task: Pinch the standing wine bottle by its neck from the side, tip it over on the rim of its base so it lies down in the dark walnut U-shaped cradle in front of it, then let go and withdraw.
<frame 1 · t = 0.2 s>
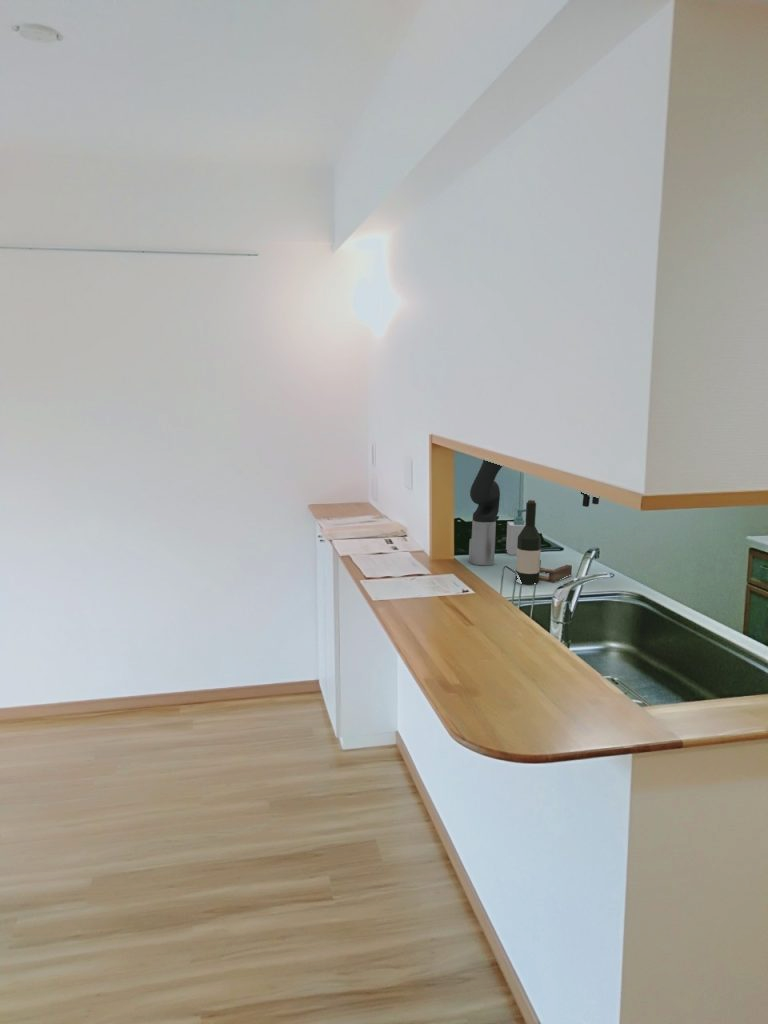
hand: (590, 505, 283), 29 cm above the countertop, tool pointing down, fingers open, 8 cm apart
soap bottle: (517, 553, 334), on the countertop
cradle: (545, 575, 297), on the countertop
wine bottle: (527, 582, 287), on the countertop
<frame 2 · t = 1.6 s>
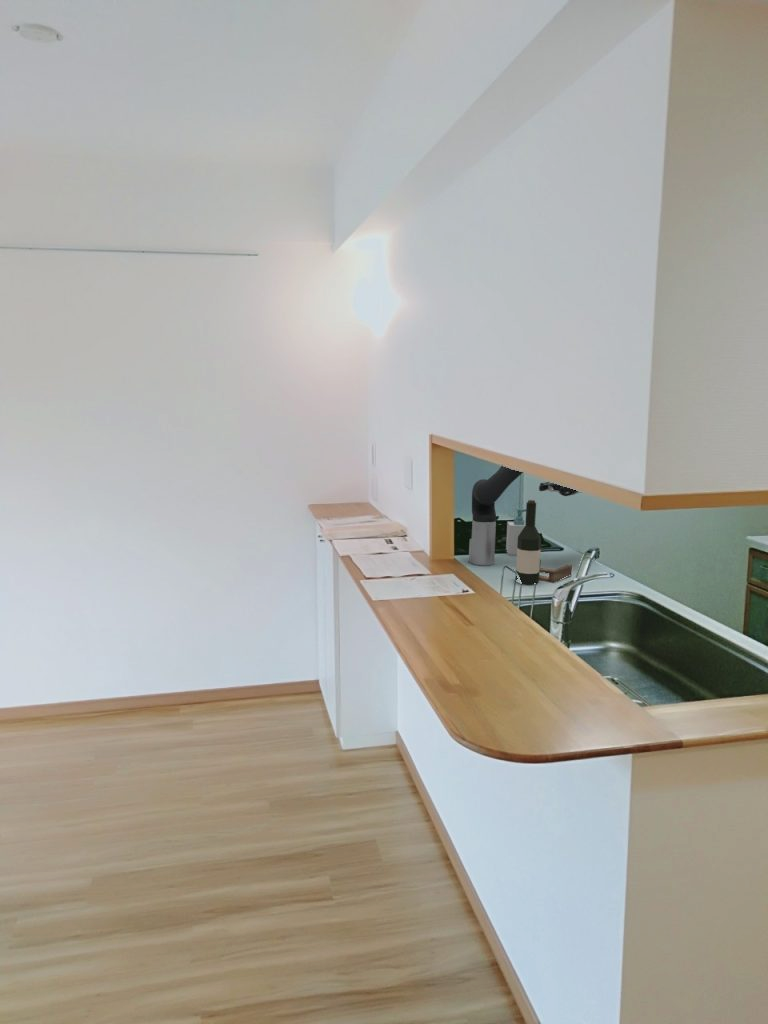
hand: (550, 489, 296), 32 cm above the countertop, tool horizontal, fingers open, 8 cm apart
nothing on the countertop moved.
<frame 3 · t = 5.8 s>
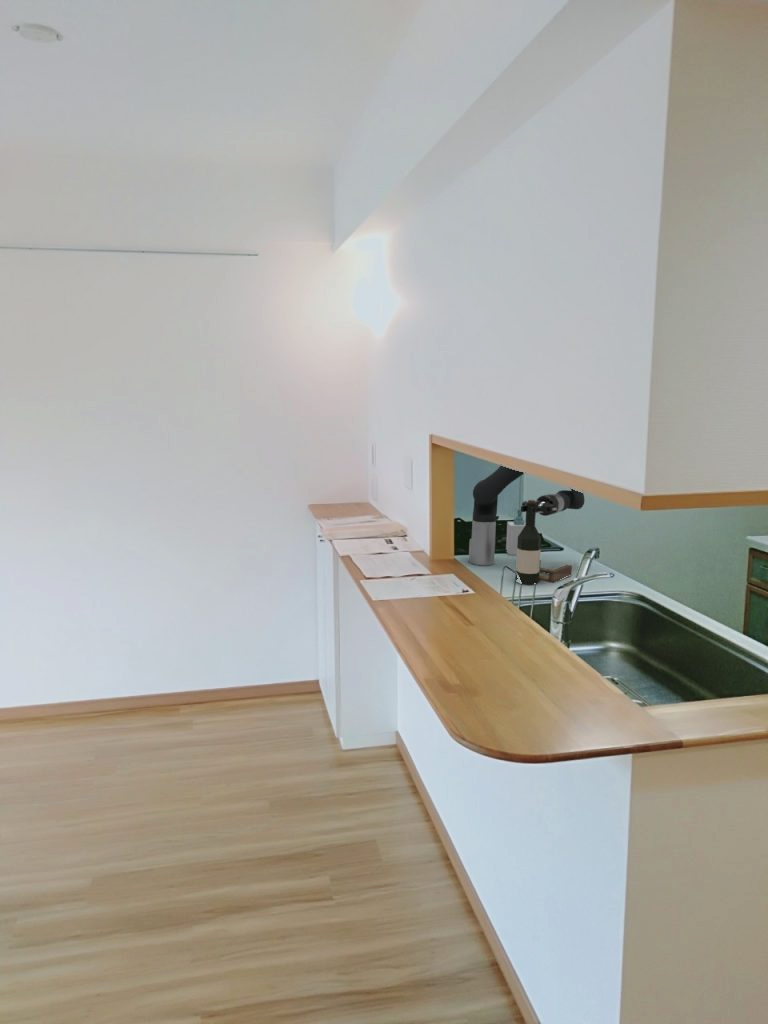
hand: (527, 509, 280), 27 cm above the countertop, tool horizontal, fingers closed on wine bottle, 3 cm apart
wine bottle: (527, 582, 287), on the countertop, touching gripper
everything else where it was.
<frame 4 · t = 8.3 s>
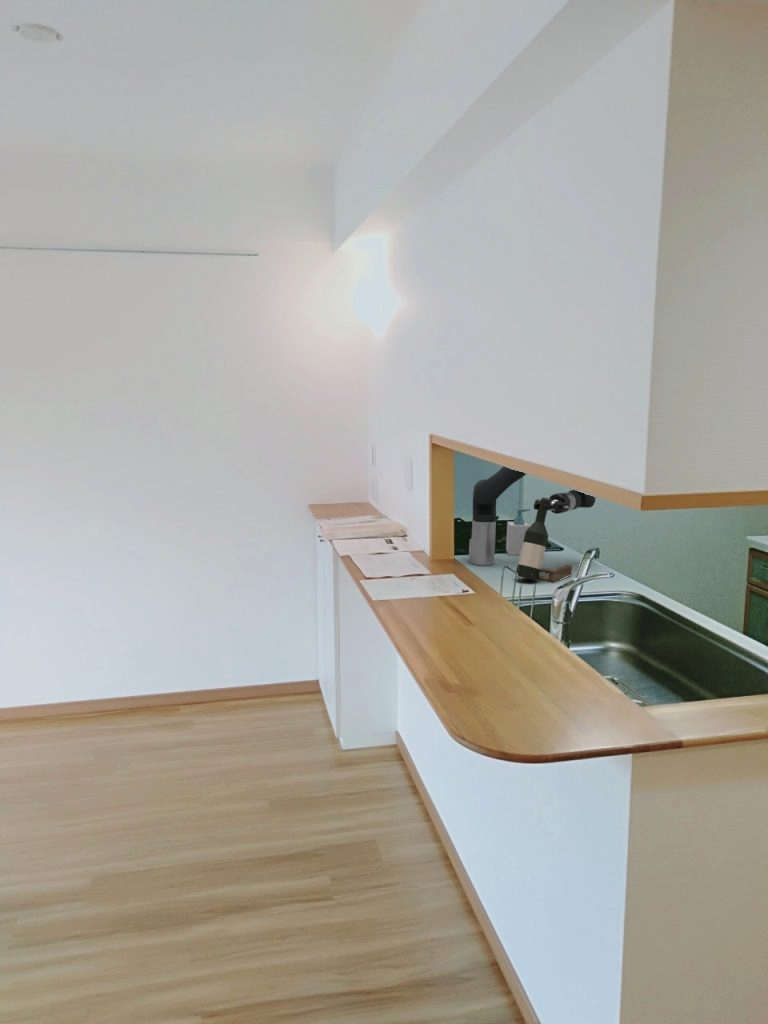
hand: (539, 507, 287), 27 cm above the countertop, tool horizontal, fingers closed on wine bottle, 3 cm apart
wine bottle: (526, 578, 288), point 1 cm above the countertop, touching gripper
everything else where it was.
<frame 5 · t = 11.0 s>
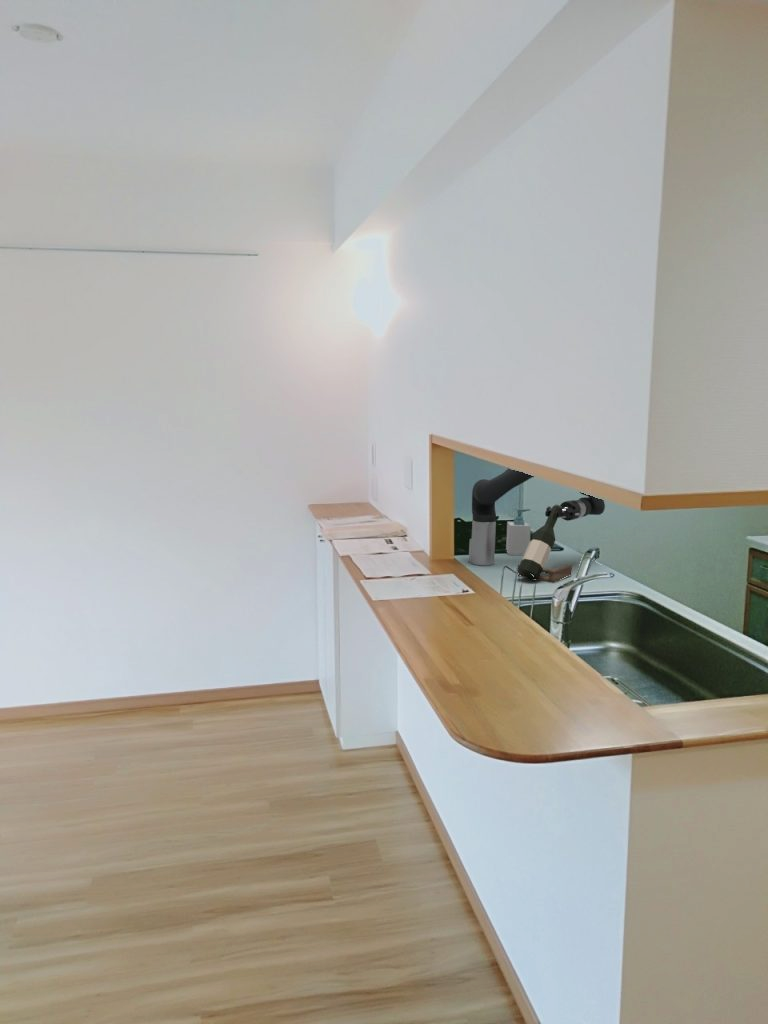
hand: (551, 514, 295), 23 cm above the countertop, tool horizontal, fingers closed on wine bottle, 3 cm apart
wine bottle: (527, 574, 288), point 2 cm above the countertop, touching gripper
everything else where it was.
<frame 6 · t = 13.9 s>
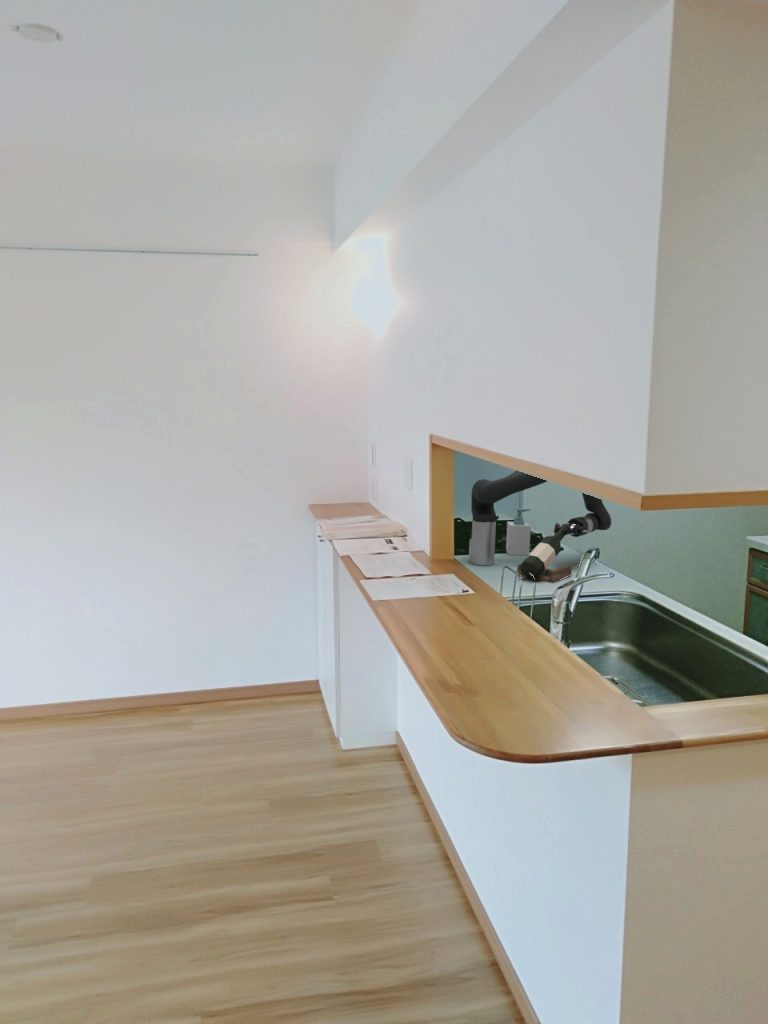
hand: (559, 531, 303), 15 cm above the countertop, tool horizontal, fingers closed on wine bottle, 3 cm apart
wine bottle: (529, 571, 288), point 4 cm above the countertop, touching cradle, gripper
everything else where it was.
when the fingers open (10 cm above the countertop, at t = 16.1 s): wine bottle stays where it is, resting on cradle.
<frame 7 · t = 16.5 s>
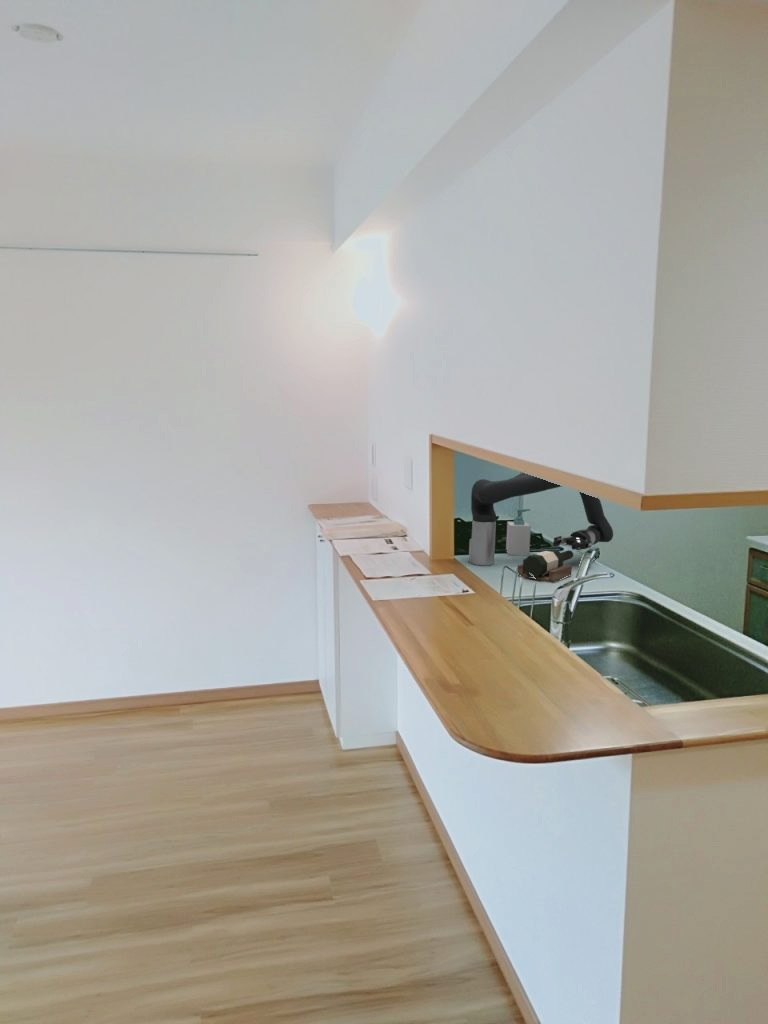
hand: (563, 545, 306), 10 cm above the countertop, tool horizontal, fingers open, 7 cm apart
wine bottle: (531, 567, 289), point 5 cm above the countertop, touching cradle
everything else where it was.
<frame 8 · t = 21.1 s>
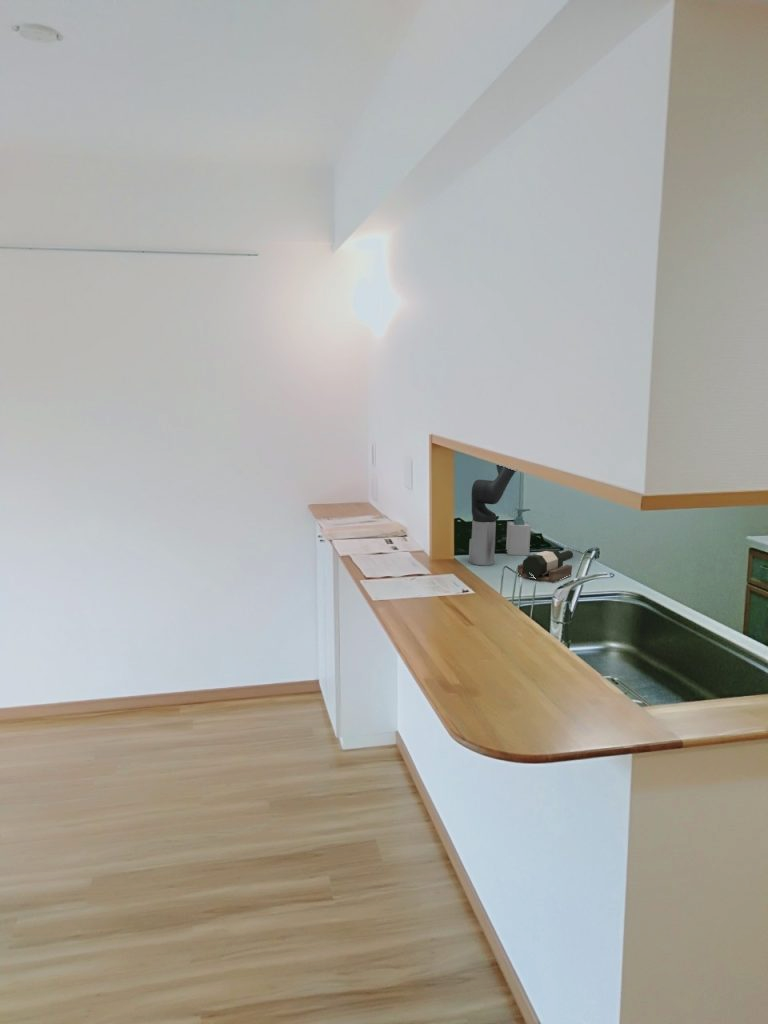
hand: (556, 477, 308), 35 cm above the countertop, tool horizontal, fingers open, 8 cm apart
nothing on the countertop moved.
at the end: wine bottle tilted 90°; wine bottle touching cradle; wine bottle inside the target area on the cradle (2.2 cm from its centre), point 4.9 cm above the cradle's base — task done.
